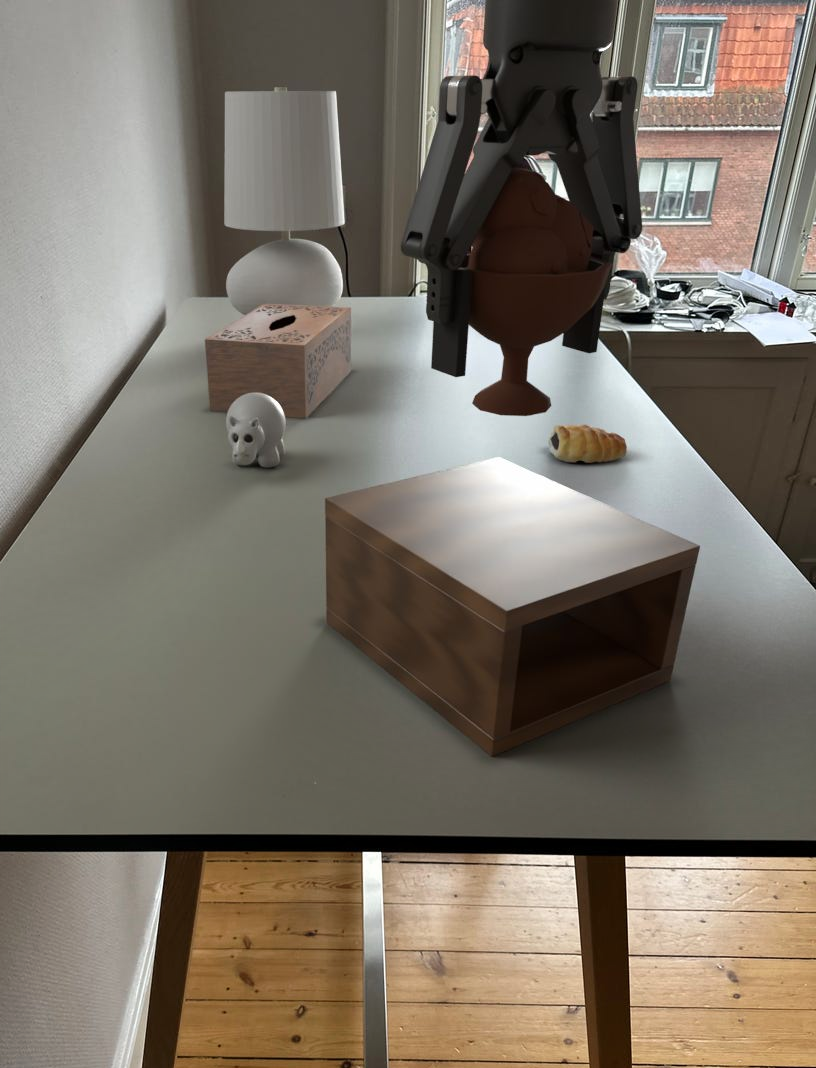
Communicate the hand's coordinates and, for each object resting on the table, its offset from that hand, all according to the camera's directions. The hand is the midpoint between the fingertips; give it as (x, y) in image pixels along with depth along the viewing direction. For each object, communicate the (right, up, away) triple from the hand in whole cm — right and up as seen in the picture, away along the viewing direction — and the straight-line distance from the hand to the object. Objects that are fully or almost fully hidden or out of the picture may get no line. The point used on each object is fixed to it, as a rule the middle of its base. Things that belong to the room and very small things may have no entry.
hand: (516, 360), depth 63 cm
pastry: (+18, +4, +52) cm, 55 cm away
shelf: (0, -20, +12) cm, 23 cm away
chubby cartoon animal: (-23, +1, +48) cm, 53 cm away
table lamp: (-22, +39, +111) cm, 120 cm away
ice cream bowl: (0, -3, +2) cm, 3 cm away
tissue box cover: (-20, +19, +78) cm, 83 cm away
